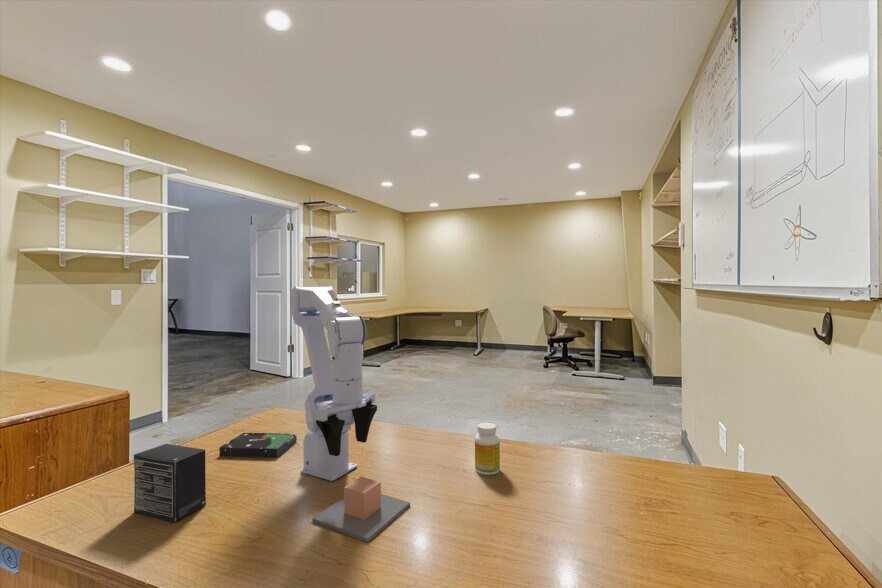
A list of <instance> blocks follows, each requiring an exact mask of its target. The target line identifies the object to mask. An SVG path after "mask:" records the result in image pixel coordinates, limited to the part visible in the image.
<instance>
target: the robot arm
mask: <svg viewBox="0 0 882 588" xmlns="http://www.w3.org/2000/svg"><path fill="white" fill-rule="evenodd" d="M289 299H290V310H291V316H292V320H293V323H294V324H295V325H296V326H298V327H300V328H301V331H302V333H303V336H304V341H305V346H306V350H307V355H308V359H309V364H310V365H309V366H310V370H311V374H312V380H313V383H314V389H313V390H312V391H311V392H309V394H308V395H307V397H306V399H305V402H304V408H305V422H306V427H307V429H308V431H307V432H306V433H305V435H304V439H303V447H302V448H303V468H301V469H300V473H303V474H306V475H310V476H313V477H317V478H320V479H323V480H325V481H330V482H334V481H335V480H337V479H338V478H341V477H342V476H344V475H345V474H347V473H349V472H351V471H353V470H355V469H356V468H357V467H358V464H357V463H353V462H349V461H350V459H349V458H350V457H349V456H350V455H349V451H350V450H349V447H350V446H349V431H350V430H351V429H352V425H354V430H355V431H354V432H355V434H354V435H355V440H356V442H358V443H367V440H368V436H369V432H370V427H371V424H372V421H373V419H374V417H375V414H376V413H377V411H378V405H377V404H375V403H376V393H375V392H365V393H363V361H362V360H363V355H362V353H363V351H362V350H363V349H362V347H363V345H365V342H366V340H367V325H366V324H367V323H366V321H365V319H364V318H363V315H356V316H353V315H352V314H351V313H350V312H349V311H348V310H347V309H346V307H345V306H344V305H343V304H342V303H341V302H340V301H336V292H335V290H334V288H333V287H332V286H293V287H292V289H291V291H290V298H289ZM325 330H326V331H325ZM325 332H326V333H325Z"/></svg>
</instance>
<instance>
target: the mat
mask: <svg viewBox="0 0 882 588" xmlns="http://www.w3.org/2000/svg"><path fill="white" fill-rule="evenodd" d="M410 506H411V502H410V501H407V500H403V499H401V498H397V497H393V496H389V495H386V494H382V493H381V508H379V509H378V510H377V511H376V512H374V513H373V514H372V515H370V516H369V517H368V518H367V519H365V520H363V519H360V518H357V517H354V516H351V515H349V514H346V513H344V496H343V497H342V498H341V499H338V501H336V502H334V503H333V504H331V505H330V506H328V507H327V508H325V509H324V510H322V511H321V512H319V513H317V514H316V515H315V516H313V517H312V518H311V522H313V523H314V524H316V525H317V524H318V525H321V526H322V527H326V528H327V529H331V530H333V531H336V532H339V533H342V534H344V535H347V536H350V537H352V538H355V539H357V540H359V541H363V542H365V543H369V542H370V541H371V540H372V539H373V538H375V537H376V536H377V535H378V534H379V533H381V531H383V530H384V529H385V528H387V526H389V524H391V523H392V522H393V521H394V520H395V519H397V518H398V517H399V516H400V515H401V514H403V513H404V511H406V510H407V509H408V508H410Z"/></svg>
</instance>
